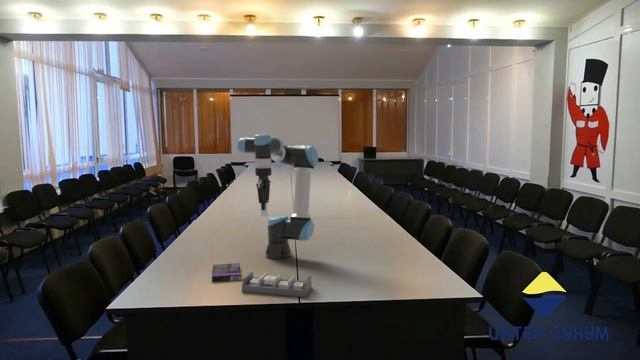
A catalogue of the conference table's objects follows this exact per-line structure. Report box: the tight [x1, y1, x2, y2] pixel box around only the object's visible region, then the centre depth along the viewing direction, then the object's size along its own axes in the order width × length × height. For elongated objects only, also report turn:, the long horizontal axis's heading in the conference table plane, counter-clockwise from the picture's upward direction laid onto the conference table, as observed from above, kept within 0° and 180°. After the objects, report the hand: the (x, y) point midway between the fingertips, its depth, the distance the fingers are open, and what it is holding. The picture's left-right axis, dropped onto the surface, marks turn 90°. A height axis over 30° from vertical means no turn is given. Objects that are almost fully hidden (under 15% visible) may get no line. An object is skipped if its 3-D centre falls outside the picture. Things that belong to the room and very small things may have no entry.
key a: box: [278, 281, 288, 288], centre depth 205 cm, size 4×4×3 cm
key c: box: [293, 282, 303, 290], centre depth 203 cm, size 4×4×3 cm
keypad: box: [241, 270, 313, 298], centre depth 206 cm, size 12×30×6 cm, turn 76°
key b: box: [250, 278, 258, 286], centre depth 208 cm, size 4×4×3 cm
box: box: [211, 262, 242, 283], centre depth 227 cm, size 14×4×20 cm
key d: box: [264, 275, 277, 285], centre depth 207 cm, size 4×4×3 cm
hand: (264, 216), depth 213 cm, fingers closed
